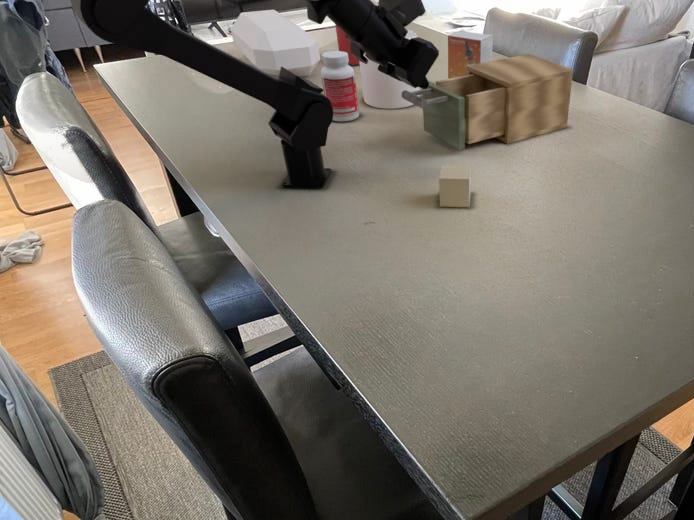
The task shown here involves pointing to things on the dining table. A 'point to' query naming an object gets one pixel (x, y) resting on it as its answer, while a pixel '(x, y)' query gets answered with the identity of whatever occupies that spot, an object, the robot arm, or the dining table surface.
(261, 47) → the crystal
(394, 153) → the dining table surface
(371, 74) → the cup
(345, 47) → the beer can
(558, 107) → the cabinet
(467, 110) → the drawer
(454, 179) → the block
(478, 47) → the small box
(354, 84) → the pill bottle
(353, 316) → the dining table surface
